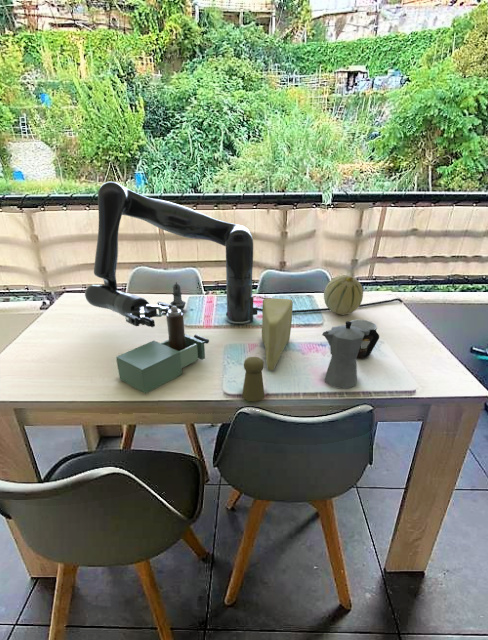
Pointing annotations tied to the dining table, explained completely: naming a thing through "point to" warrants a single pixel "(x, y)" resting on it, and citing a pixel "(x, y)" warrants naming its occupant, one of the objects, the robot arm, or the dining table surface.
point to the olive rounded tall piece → (253, 379)
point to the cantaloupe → (343, 294)
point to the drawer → (191, 349)
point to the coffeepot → (346, 353)
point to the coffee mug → (366, 340)
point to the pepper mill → (176, 329)
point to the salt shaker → (178, 298)
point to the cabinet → (149, 366)
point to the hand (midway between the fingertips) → (165, 319)
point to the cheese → (276, 328)
